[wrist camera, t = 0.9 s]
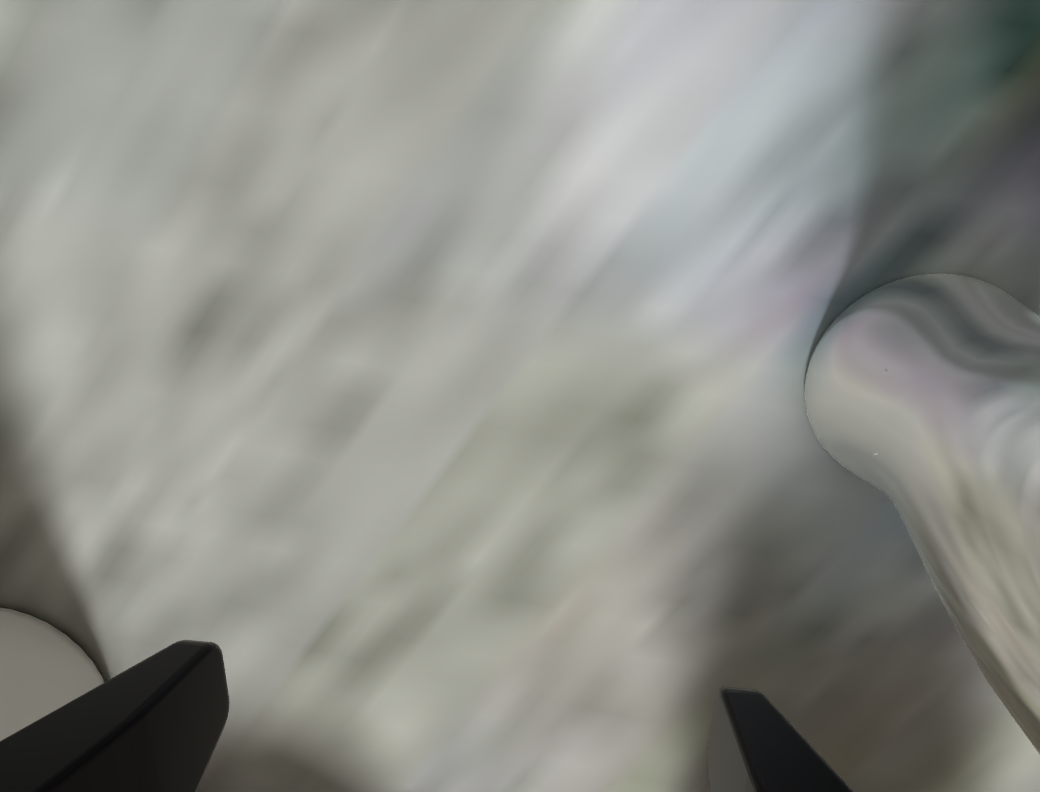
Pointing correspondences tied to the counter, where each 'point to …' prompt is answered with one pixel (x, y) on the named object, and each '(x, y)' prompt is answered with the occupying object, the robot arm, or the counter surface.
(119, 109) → the counter surface
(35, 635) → the milk bottle
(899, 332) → the beer glass
